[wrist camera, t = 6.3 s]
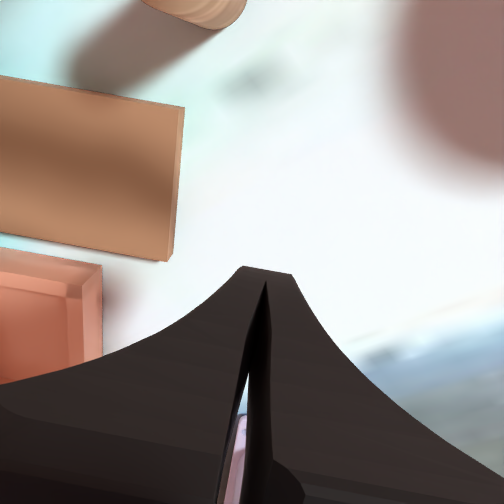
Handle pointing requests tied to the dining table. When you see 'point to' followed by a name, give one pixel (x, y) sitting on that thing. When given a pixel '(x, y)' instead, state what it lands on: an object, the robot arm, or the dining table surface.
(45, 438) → the robot arm
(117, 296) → the dining table surface
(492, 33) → the dining table surface
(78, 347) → the dish
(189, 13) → the dowel
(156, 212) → the tan flat wooden block
